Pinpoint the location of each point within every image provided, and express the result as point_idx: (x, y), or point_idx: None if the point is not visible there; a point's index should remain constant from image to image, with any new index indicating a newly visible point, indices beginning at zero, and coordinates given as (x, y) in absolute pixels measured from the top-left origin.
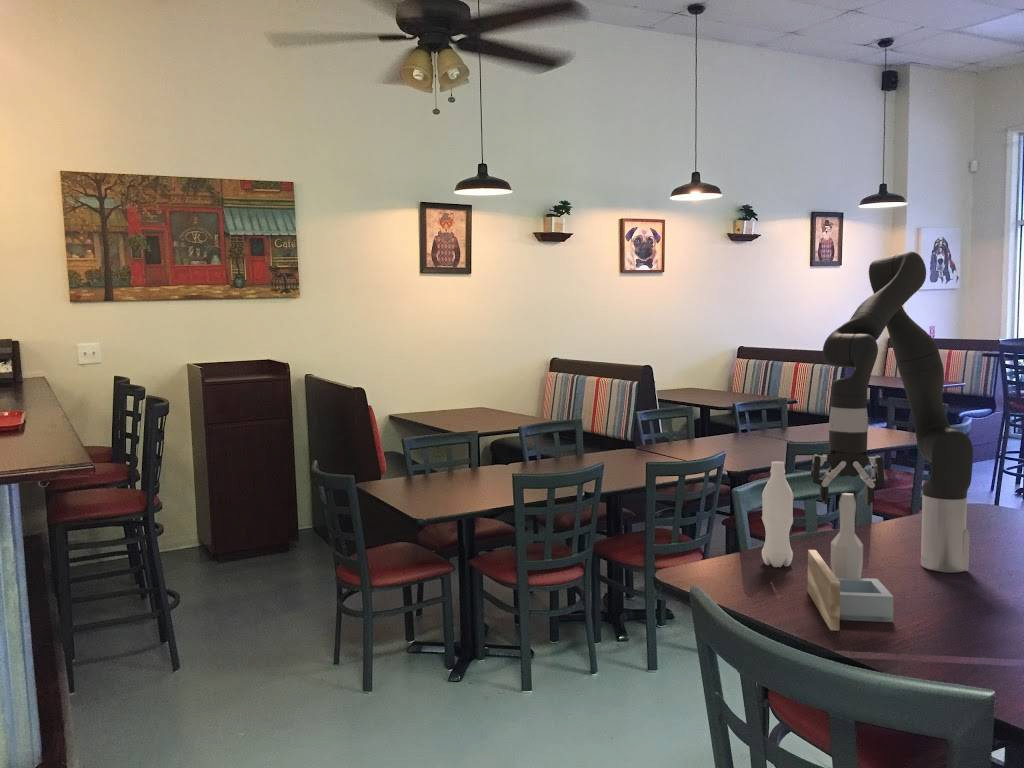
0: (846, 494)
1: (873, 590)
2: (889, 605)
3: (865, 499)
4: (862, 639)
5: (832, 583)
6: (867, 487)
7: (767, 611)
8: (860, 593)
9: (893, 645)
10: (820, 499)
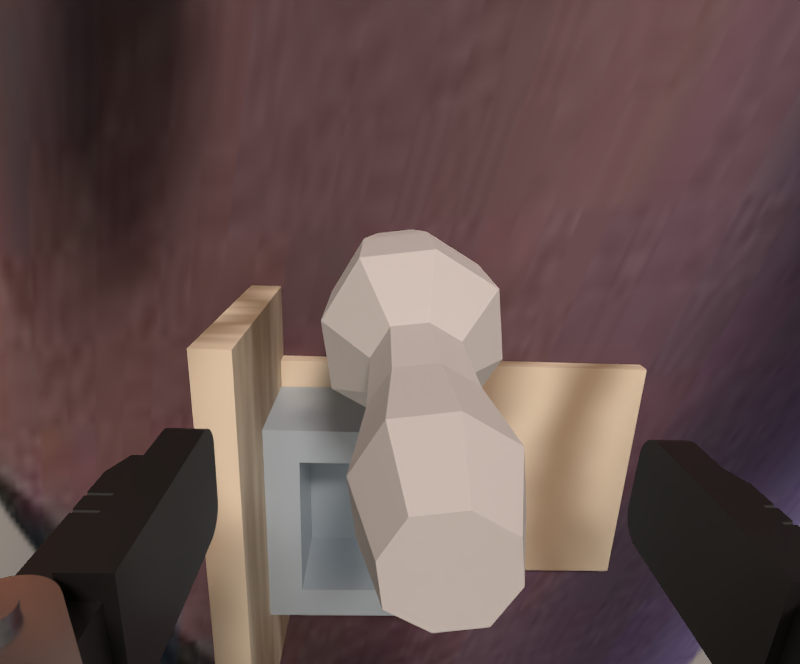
0: (427, 596)
1: None
2: None
3: (665, 490)
4: (346, 625)
5: None
6: (781, 657)
7: (94, 456)
8: (371, 596)
9: (415, 650)
10: (126, 463)
